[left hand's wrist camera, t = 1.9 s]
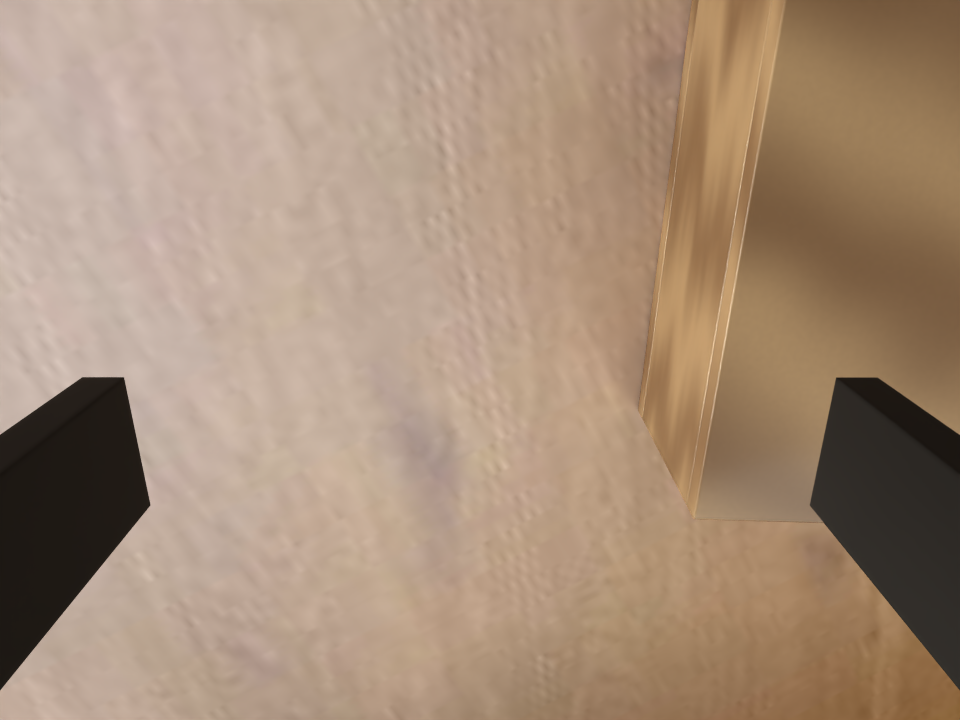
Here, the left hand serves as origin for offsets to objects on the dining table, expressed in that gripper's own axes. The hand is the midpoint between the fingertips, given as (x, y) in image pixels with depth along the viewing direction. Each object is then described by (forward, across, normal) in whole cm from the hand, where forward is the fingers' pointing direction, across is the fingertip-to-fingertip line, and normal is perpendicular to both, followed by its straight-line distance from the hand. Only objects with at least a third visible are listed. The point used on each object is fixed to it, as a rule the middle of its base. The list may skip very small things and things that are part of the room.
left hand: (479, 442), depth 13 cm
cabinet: (+21, -14, -1) cm, 26 cm away
